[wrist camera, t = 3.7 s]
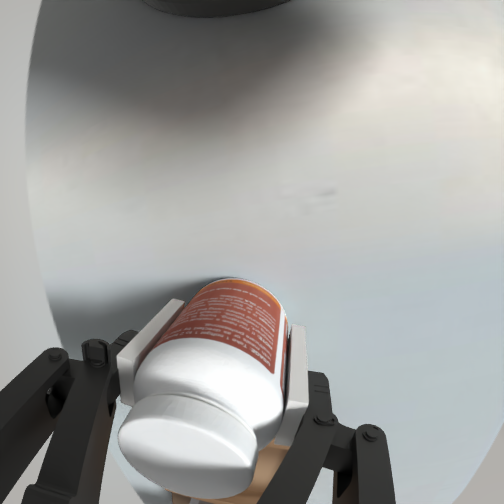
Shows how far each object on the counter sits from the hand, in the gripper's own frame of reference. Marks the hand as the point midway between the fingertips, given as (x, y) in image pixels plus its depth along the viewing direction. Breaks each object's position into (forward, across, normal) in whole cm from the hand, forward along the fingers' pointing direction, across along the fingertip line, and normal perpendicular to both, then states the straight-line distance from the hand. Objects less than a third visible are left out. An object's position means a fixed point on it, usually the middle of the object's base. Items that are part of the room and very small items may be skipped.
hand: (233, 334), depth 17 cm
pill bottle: (+2, 0, 0) cm, 2 cm away
